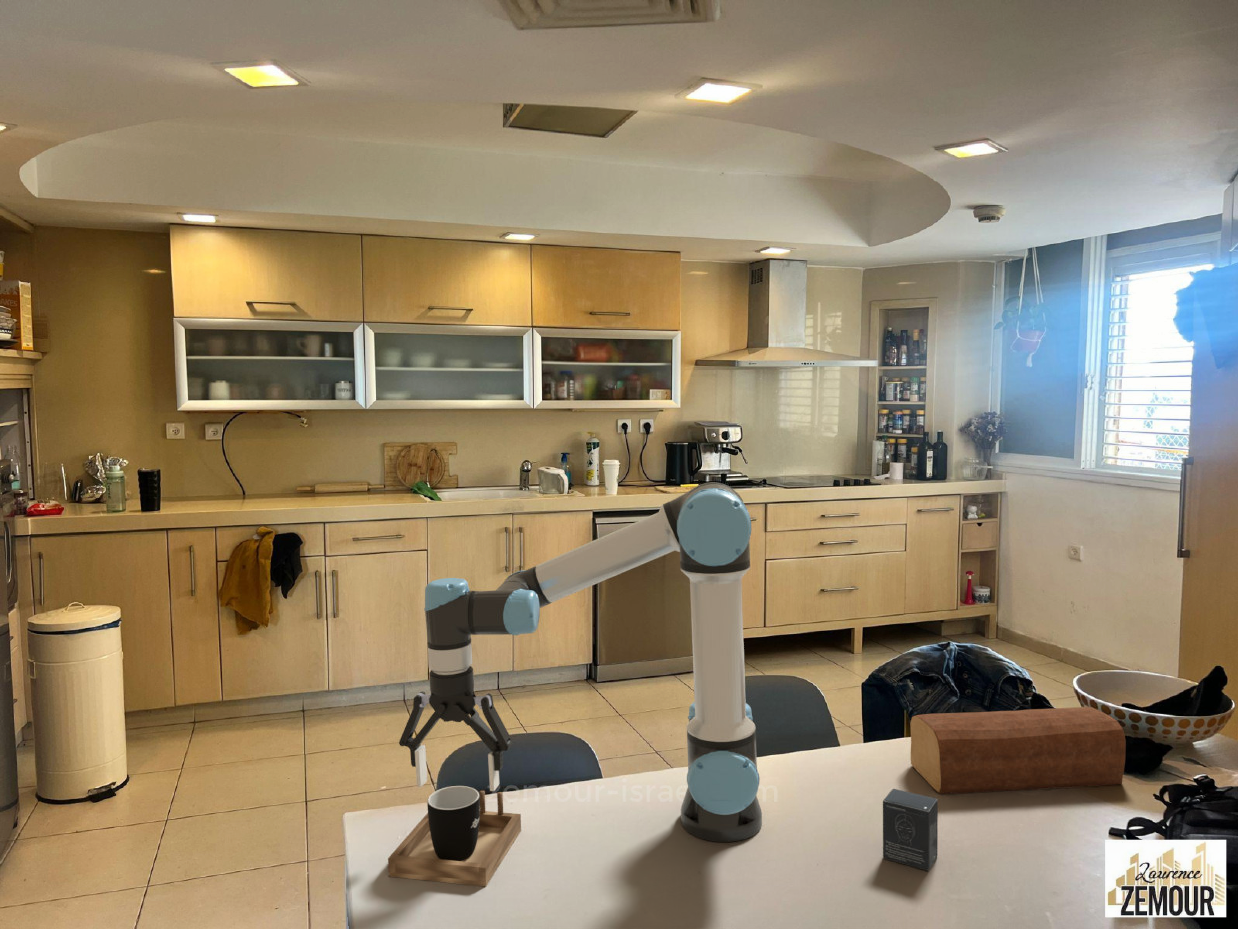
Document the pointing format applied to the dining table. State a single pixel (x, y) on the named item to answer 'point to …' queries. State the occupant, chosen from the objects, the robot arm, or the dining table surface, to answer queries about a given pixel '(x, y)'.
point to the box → (910, 829)
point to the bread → (1018, 749)
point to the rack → (478, 869)
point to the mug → (454, 822)
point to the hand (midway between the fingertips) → (458, 785)
